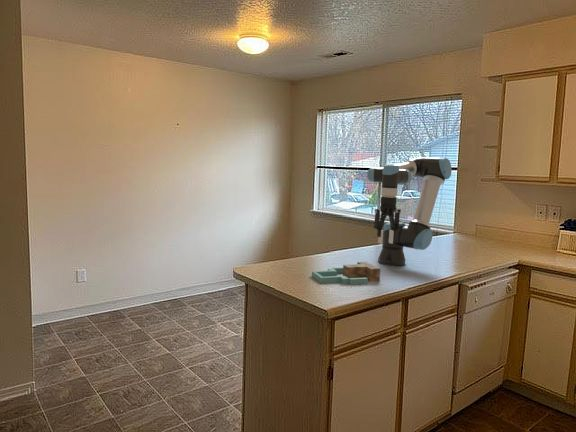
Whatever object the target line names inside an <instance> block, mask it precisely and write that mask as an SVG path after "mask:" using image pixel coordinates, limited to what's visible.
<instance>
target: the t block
mask: <svg viewBox="0 0 576 432" xmlns="http://www.w3.org/2000/svg"><path fill="white" fill-rule="evenodd" d="M342 267H343V273H342V276H346V277H348V278H368V281H369V282H378V281H380V279H381V268H380V267H378V266H376V265H374V264H372V263H370V262H368V261H357V264H343V266H342Z"/></svg>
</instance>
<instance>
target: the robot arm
mask: <svg viewBox="0 0 576 432" xmlns="http://www.w3.org/2000/svg"><path fill="white" fill-rule="evenodd" d="M366 173H367V174H366V175H367V176H366V177H367V180H368V182H371V183H380V184H381V190H380V191H381V197H380V206H379V207H378V208H374V222H373V225H374V226H373V229H374V230H376V231H377V233H376V236H377V240H378V241H377V243H378V244H380V245H381V247H382V248H381V251H380V253H379V255H378V257H377V258H378V259H377V262H378V263H380V264H382V265H386V266H404V265H406V258H405V253H404V248H409V249H414V250H421V251H424V250H426V249H428V248H429V246H430V245H431V243H432V240H433V231H432V230H431V226H430V225H429V224H430V222H431V218H432V214H433V210H434V207H435V206H436V205H435V204H436V202H437V197H438V195H439V191H440V187H441V186H442V185H443V184H444V183H445V182H446V181H445V180H449V179H450V178H451V176H452V164H451V161H450V159H449V158H447V157H432V156H431V157H430V156H429V157H427V156H422V157H421V156H420V157H415V158H410V159H406V160H405V161H403V162H400V163H397V164H384V165H383V167H370V168H368V170H367V171H366ZM413 177H417V178H422V179H423V181H424V183H423V186H422V190H421V193H420V196H419V200H418V202H417V206H416V210H415V212H414V216H413V219H412V220H410V221H409V222H408V225H406V223H405V222H402V221H401V222H400V218H401V217H400V216H401V213H402V212H401V211H402V209H400V208H397V207H396V205H397V199H398V198H397V197H398V186H399V185H407V184H408V183H410V182H411V180H412V178H413ZM387 217H388V219H389V222H387V223H385V221H386V219H387Z"/></svg>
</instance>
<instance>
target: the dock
mask: <svg viewBox="0 0 576 432" xmlns="http://www.w3.org/2000/svg"><path fill="white" fill-rule="evenodd" d="M338 274H343V266H342V267H331V268H327V270H312V271H311V277H312V278H313V279H314V280H316V281H317V282H319V283H320V284H326V283H330V284H331V283H341V284H343V285H347V284H348V285H366V284H368V281H369V280H368V278H348V277H346V276H343V275H338Z"/></svg>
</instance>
